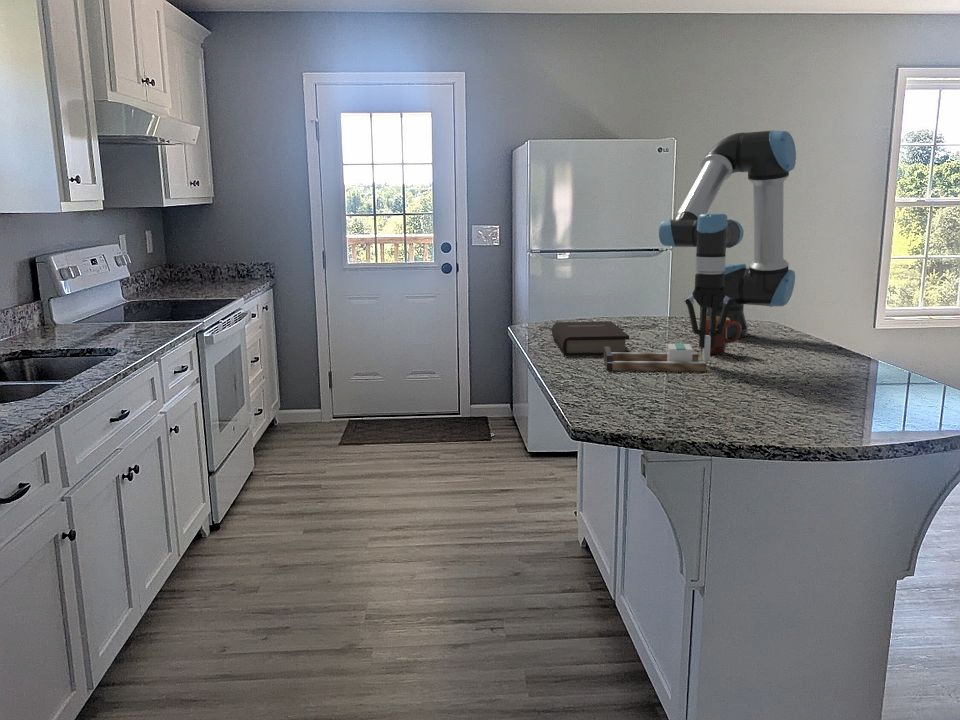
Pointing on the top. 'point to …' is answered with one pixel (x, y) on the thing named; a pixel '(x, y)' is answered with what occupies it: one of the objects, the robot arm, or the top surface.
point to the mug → (721, 336)
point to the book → (588, 337)
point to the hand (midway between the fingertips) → (705, 359)
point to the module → (679, 352)
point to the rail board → (648, 362)
